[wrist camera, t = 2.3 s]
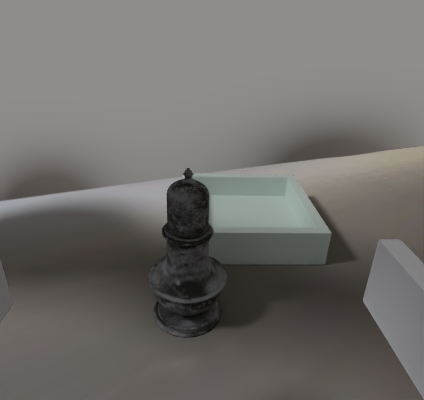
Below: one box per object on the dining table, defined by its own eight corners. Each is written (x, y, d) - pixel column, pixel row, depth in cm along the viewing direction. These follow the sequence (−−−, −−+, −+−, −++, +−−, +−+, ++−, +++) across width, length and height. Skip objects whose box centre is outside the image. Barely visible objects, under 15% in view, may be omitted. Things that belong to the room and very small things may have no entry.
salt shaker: (190, 277, 32) (192, 147, 26) (240, 312, 28) (253, 170, 23) (134, 309, 28) (122, 165, 23) (183, 355, 24) (182, 196, 19)
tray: (178, 264, 33) (177, 232, 32) (182, 198, 46) (182, 173, 44) (324, 264, 34) (331, 233, 32) (289, 199, 46) (293, 174, 45)
